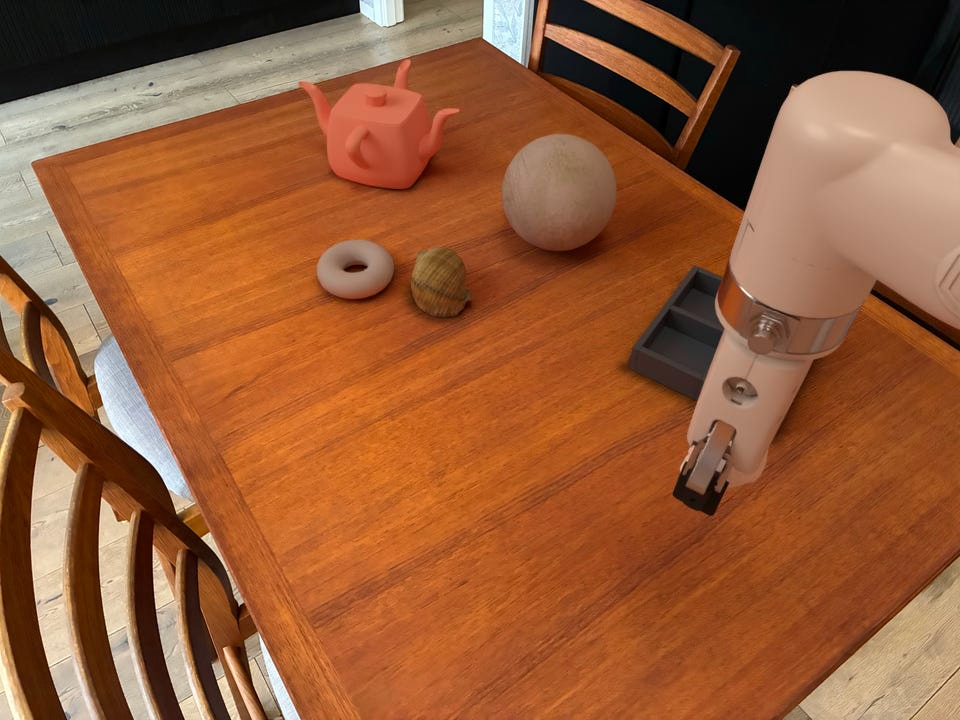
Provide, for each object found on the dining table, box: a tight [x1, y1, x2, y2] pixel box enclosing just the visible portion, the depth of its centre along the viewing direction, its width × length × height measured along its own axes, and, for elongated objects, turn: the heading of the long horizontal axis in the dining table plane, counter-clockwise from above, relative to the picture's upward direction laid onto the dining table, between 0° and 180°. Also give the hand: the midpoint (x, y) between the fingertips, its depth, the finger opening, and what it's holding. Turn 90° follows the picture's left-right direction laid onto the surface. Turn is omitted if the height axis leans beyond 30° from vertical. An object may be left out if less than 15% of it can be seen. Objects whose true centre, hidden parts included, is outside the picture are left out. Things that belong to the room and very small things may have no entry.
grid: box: [627, 264, 725, 402], centre depth 86 cm, size 17×17×4 cm
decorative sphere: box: [501, 133, 618, 252], centre depth 96 cm, size 15×15×15 cm
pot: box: [297, 59, 460, 190], centre depth 108 cm, size 18×17×12 cm
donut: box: [316, 238, 395, 300], centre depth 94 cm, size 10×4×10 cm
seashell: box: [410, 246, 473, 319], centre depth 92 cm, size 10×7×8 cm
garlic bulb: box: [679, 433, 769, 488], centre depth 54 cm, size 6×6×5 cm
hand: (712, 467), depth 55 cm, fingers closed on garlic bulb, 6 cm apart
